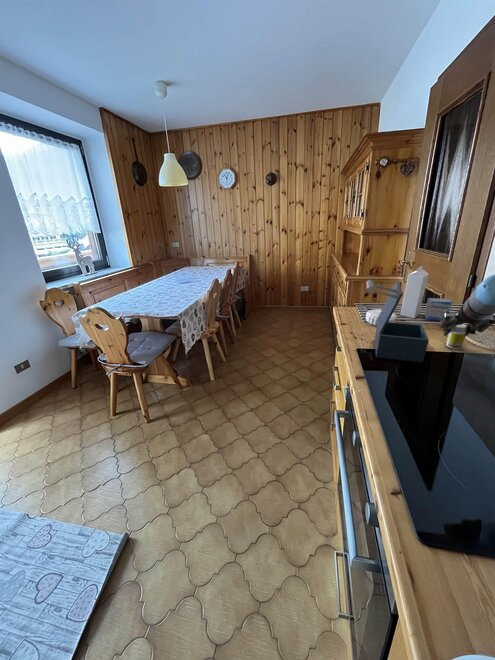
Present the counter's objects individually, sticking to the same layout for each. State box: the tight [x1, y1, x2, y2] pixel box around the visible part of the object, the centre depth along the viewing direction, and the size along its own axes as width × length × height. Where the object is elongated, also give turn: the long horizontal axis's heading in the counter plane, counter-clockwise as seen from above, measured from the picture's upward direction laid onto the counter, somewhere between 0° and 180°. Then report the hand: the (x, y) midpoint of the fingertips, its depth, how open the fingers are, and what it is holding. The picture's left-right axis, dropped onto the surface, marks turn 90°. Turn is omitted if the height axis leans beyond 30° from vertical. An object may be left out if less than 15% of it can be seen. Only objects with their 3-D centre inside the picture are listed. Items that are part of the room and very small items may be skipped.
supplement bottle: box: [445, 323, 467, 350], centre depth 100 cm, size 5×5×8 cm
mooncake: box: [365, 308, 397, 327], centre depth 124 cm, size 12×12×4 cm
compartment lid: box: [365, 279, 404, 334], centre depth 97 cm, size 16×12×10 cm
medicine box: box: [423, 297, 453, 321], centre depth 122 cm, size 8×4×9 cm, turn 73°
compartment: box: [374, 321, 430, 363], centre depth 101 cm, size 15×12×9 cm
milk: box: [399, 265, 429, 319], centre depth 123 cm, size 6×6×22 cm
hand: (454, 333), depth 104 cm, fingers closed on supplement bottle, 5 cm apart
